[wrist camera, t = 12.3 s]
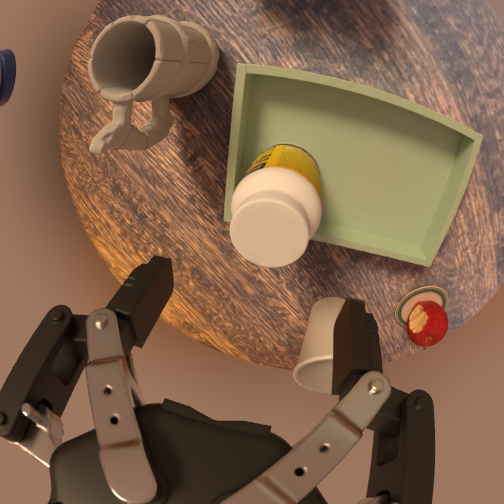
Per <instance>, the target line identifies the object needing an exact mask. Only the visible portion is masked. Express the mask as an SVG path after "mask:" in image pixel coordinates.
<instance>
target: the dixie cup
mask: <svg viewBox="0 0 504 504" xmlns="http://www.w3.org/2000/svg"><path fill="white" fill-rule="evenodd" d="M344 302H345V299H343V298H340V297H326V298H323V299H321V300H319V301H317V302H316V303H315V304H314V305H313V307H312V309H311V313H310V317H309V321H308V325H307V329H306V333H305V337H304V341H303V345H302V349H301V352H300V356H299V360H298V363H297V366H296V367H295V369H294V371H293V377H294V380H295V381H296V382H297V383H298V384H299V385H300V386H302V387H303V388H306V389H308V390H311V391H315V392H321V393H332V370H333V329H334V324H335V321H336V318H337V316H338V314H339V312H340V310H341V308H342V306H343V304H344Z"/></svg>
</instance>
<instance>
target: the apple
mask: <svg viewBox="0 0 504 504" xmlns="http://www.w3.org/2000/svg"><path fill="white" fill-rule="evenodd" d="M447 305H448V296H447V293H446V292H445V291H444V290H443V289H442V288H440V287H437V286H425V287H421V288H418V289H416V290H414V291H412V292H410V293H409V294H407V295H406V296H405V297H404V298H403V299H402V300H401V301H400V302H399V304H398V305H397V307H396V310H395V318H396V321H397V322H398V323H399V324H400V325H401V326H403V327H406V328H407V332H408V335H409V337H410V339H411V340H412V341H413V342H414V343H415V344H417V345H419V346H423V347H425V348H424V349H426V348H427V346H432V345H434V344H436V343H438V342H439V341H440V340H442V338H443V337H444V336H445V334H446V332H447V329H448V318H447V314H446V312H445V310H446V308H447Z"/></svg>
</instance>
